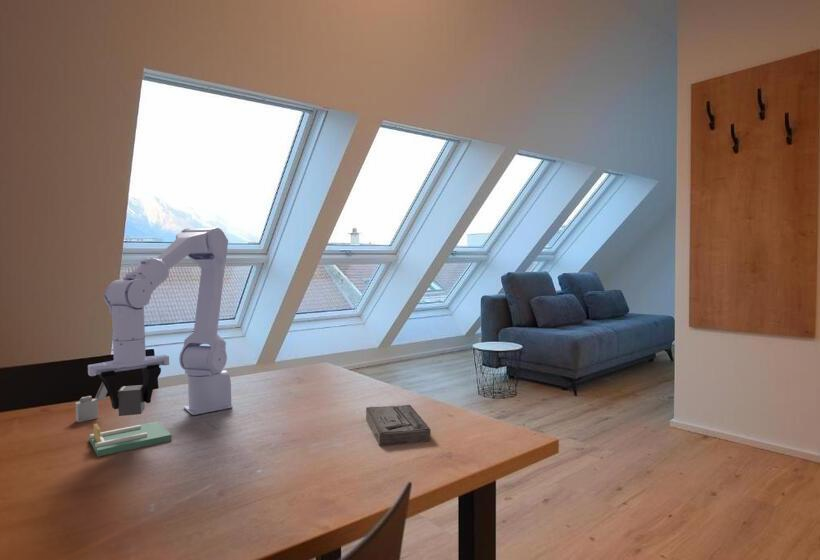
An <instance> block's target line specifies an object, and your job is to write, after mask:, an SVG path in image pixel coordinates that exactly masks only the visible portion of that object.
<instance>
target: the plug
mask: <svg viewBox="0 0 820 560" xmlns="http://www.w3.org/2000/svg"><path fill="white" fill-rule="evenodd" d="M118 402H119V407H118V409H117V410H118V417H125V416H135V415H142V414H143V413H144V410H145V407H146V406H145V403H146V402H144V384H137V385H135V384H134V385H127V386H126V385H124V386H121V387H120V388H119V390H118Z"/></svg>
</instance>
